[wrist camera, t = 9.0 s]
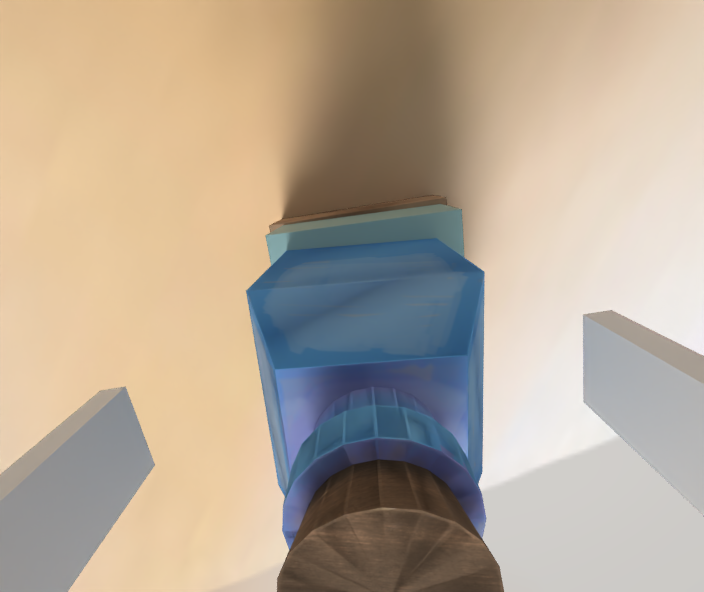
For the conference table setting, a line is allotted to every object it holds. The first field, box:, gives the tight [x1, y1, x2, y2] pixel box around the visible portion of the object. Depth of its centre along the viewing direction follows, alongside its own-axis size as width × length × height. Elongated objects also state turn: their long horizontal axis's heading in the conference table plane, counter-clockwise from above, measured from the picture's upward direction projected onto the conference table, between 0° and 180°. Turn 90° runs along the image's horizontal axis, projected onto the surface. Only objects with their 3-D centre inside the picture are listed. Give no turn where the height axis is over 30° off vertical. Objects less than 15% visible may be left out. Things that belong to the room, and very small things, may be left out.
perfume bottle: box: [246, 238, 504, 592], centre depth 11 cm, size 6×6×12 cm
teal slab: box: [266, 204, 464, 266], centre depth 19 cm, size 8×8×4 cm
